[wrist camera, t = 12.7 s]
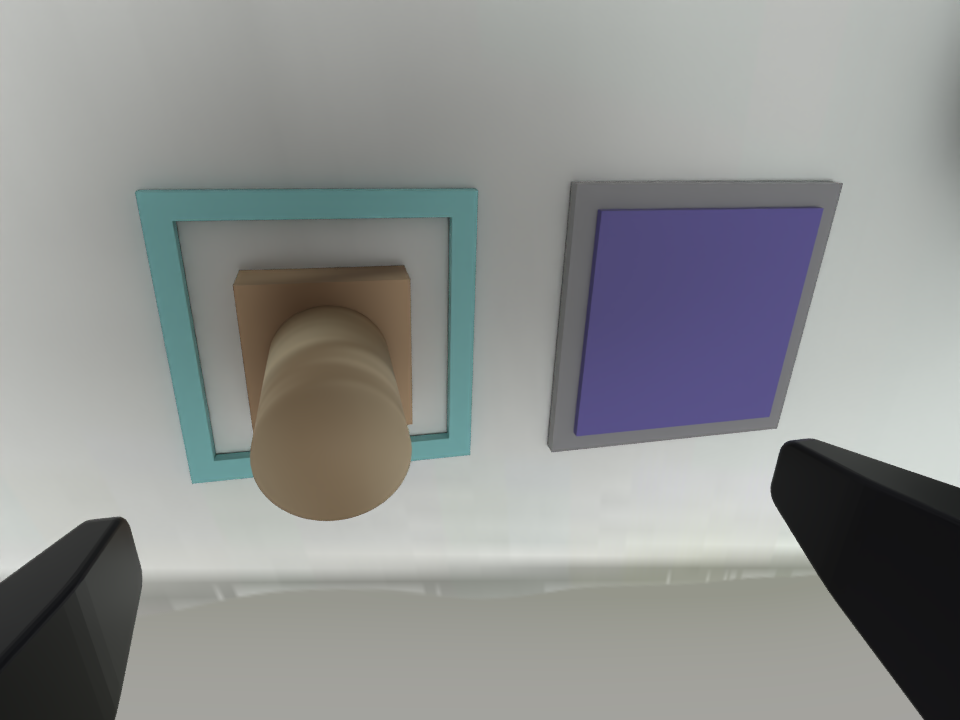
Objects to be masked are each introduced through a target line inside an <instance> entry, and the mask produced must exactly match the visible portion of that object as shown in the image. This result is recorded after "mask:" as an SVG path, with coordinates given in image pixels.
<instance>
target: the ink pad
mask: <svg viewBox="0 0 960 720" xmlns="http://www.w3.org/2000/svg"><path fill="white" fill-rule="evenodd" d="M842 185H843V183H838V182H833V181H734V182H572V183H571V194H570V205H569V216H568V227H567V238H566V249H565V260H564V271H563V282H562V293H561V304H560V315H559V326H558V337H557V348H556V359H555V370H554V381H553V392H552V403H551V414H550V425H549V435H548V447H549V448H550V450H551V452H559V451H568V450H578V449H587V448H597V447H606V446H616V445H625V444H635V443H644V442H653V441H663V440H672V439H682V438H691V437H701V436H710V435H720V434H729V433H738V432H748V431H757V430H767V429H776V428H777V426H778V423H779V419H780V415H781V412H782V408H783V404H784V400H785V397H786V393H787V389H788V386H789V382H790V378H791V374H792V371H793V367H794V363H795V360H796V356H797V352H798V348H799V345H800V341H801V337H802V334H803V330H804V326H805V322H806V319H807V315H808V311H809V307H810V304H811V300H812V296H813V293H814V289H815V285H816V281H817V278H818V274H819V270H820V267H821V263H822V259H823V255H824V252H825V248H826V244H827V241H828V237H829V233H830V229H831V226H832V222H833V218H834V215H835V211H836V207H837V203H838V200H839V196H840V192H841V189H842Z"/></svg>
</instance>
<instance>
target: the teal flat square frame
mask: <svg viewBox="0 0 960 720" xmlns="http://www.w3.org/2000/svg"><path fill="white" fill-rule="evenodd" d="M135 194H136V199H137V204H138V210H139V215H140V220H141V225H142V230H143V235H144V240H145V245H146V250H147V256H148V261H149V266H150V271H151V276H152V281H153V286H154V291H155V296H156V302H157V307H158V312H159V317H160V322H161V327H162V332H163V337H164V342H165V348H166V353H167V358H168V363H169V368H170V373H171V378H172V383H173V388H174V394H175V399H176V404H177V409H178V414H179V419H180V424H181V429H182V434H183V439H184V445H185V450H186V455H187V460H188V465H189V470H190V475H191V480H192V484H194V483H203V482H213V481H223V480H232V479H242V478H251V477H254V476H253V474H252V470H251V465H250V452H239V453H228V454H218V455H216V453H215V447H214V441H213V435H212V429H211V424H210V418H209V412H208V406H207V400H206V395H205V389H204V383H203V377H202V371H201V366H200V360H199V354H198V348H197V342H196V337H195V331H194V325H193V319H192V313H191V308H190V302H189V296H188V290H187V284H186V279H185V273H184V267H183V261H182V255H181V250H180V244H179V238H178V232H177V226H176V221H217V220H286V219H355V218H424V217H450V233H449V319H448V404H447V433H440V434H429V435H419V436H410V439H411V445H412V455H411V461H416V460H425V459H435V458H445V457H454V456H464V455H470V441H471V407H472V374H473V341H474V308H475V275H476V242H477V209H478V190H477V189H475V188H461V189H204V190H138V191H136V192H135Z"/></svg>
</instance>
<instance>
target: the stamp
mask: <svg viewBox="0 0 960 720" xmlns="http://www.w3.org/2000/svg"><path fill="white" fill-rule="evenodd" d="M233 290H234V298H235V305H236V312H237V319H238V326H239V334H240V341H241V348H242V355H243V363H244V370H245V377H246V384H247V391H248V399H249V406H250V413H251V420H252V427H253V439H252V444H251V451H250V465H251V470H252V474H253V476H254V479H255V481H256V483H257V485H258V487H259V488H260V490H261V491H262V492H263V494H264V495H265V496H266V497H267V498H268V499H269V500H270V501H271V502H272V503H273V504H275V505H276V506H278V507H279V508H281V509H282V510H284V511H286V512H288V513H290V514H293V515H295V516H298V517H302V518H306V519H311V520H318V521H334V520H342V519H348V518H352V517H355V516H359V515H361V514H364V513H366V512H368V511H370V510H372V509H374V508H376V507H377V506H379V505H380V504H382V503H383V502H385V501H386V500H387V499H388V498H389V497H390V496H391V495H392V494H393V493H394V492H395V491H396V490H397V489H398V487H399V486H400V485H401V483H402V482H403V480H404V478H405V476H406V474H407V472H408V469H409V466H410V462H411V455H412V445H411V439H410V435H409V431H408V427H407V425H409V424H412V366H411V295H410V278H409V275H408V273H407V271H406V269H405V266H404V265H401V266H368V267H335V268H303V269H270V270H239V272H238V275H237V277H236V280H235V282H234V284H233Z"/></svg>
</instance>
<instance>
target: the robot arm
mask: <svg viewBox="0 0 960 720" xmlns="http://www.w3.org/2000/svg"><path fill="white" fill-rule="evenodd" d="M771 497H772V499H773V502H774V504H775V506H776V507H777V509H778V511H779V512H780V514H781V515H782V517H783V519H784V520H785V522H786V524H787V525H788V527H789V529H790V530H791V532H792V533H793V535H794V537H795V538H796V540H797V542H798V543H799V545H800V546H801V548H802V550H803V551H804V553H805V555H806V556H807V558H808V559H809V561H810V563H811V564H812V566H813V568H814V569H815V571H816V572H817V574H818V576H819V577H820V579H821V580H822V582H823V583H824V585H825V587H826V588H827V590H828V591H829V592H830V594H831V595H832V597H833V598H834V599H835V601H836V602H837V604H838V605H839V606H840V608H841V609H842V610H843V612H844V613H845V615H846V616H847V617H848V618H849V620H850V621H851V622H852V624H853V625H854V627H855V628H856V629H857V631H858V632H859V633H860V634H861V636H862V637H863V639H864V640H865V641H866V643H867V644H868V645H869V647H870V648H871V649H872V651H873V652H874V653H875V655H876V656H877V657H878V659H879V660H880V661H881V663H882V664H883V666H884V667H885V668H886V669H887V671H888V672H889V673H890V675H891V676H892V677H893V679H894V680H895V682H896V683H897V684H898V686H899V687H900V688H901V690H902V691H903V692H904V693H905V695H906V696H907V698H908V699H909V700H910V702H911V703H912V704H913V706H914V707H915V708H916V710H917V711H918V712H919V714H920V715H921V716H922V718H923V719H924V720H960V488H959V487H956V486H953V485H950V484H947V483H944V482H941V481H938V480H935V479H932V478H929V477H926V476H923V475H920V474H917V473H914V472H911V471H908V470H905V469H902V468H899V467H896V466H893V465H890V464H887V463H885V462H882V461H879V460H876V459H873V458H870V457H867V456H864V455H861V454H858V453H855V452H852V451H849V450H846V449H843V448H840V447H837V446H834V445H831V444H828V443H825V442H822V441H819V440H816V439H809V438H808V439H800V440H791V441H788V442H786V443H784V445H783V446H782V447H781V449H780V452H779V456H778V460H777V464H776V467H775V471H774V475H773V479H772V482H771ZM141 589H142V569H141V565H140V561H139V558H138V554H137V551H136V547H135V543H134V540H133V536H132V532H131V529H130V526H129V524H128V522H127V521H126V519H124V518H122V517H110V518H101V519H92V520H87V521H85V522H83V523H82V524H80V525H79V526H77V527H76V528H75V529H73V530H72V531H70V532H69V533H68V534H66V535H65V536H64V537H62V538H61V539H59V540H58V541H57V542H55V543H54V544H53V545H51V546H50V547H48V548H47V549H46V550H44V551H43V552H42V553H40V554H39V555H38V556H36V557H35V558H33V559H32V560H31V561H29V562H28V563H27V564H25V565H24V566H22V567H21V568H20V569H18V570H17V571H16V572H14V573H13V574H11V575H10V576H9V577H7V578H6V579H5V580H3V581H2V582H1V583H0V720H115V717H116V713H117V709H118V704H119V700H120V695H121V690H122V686H123V681H124V676H125V671H126V665H127V660H128V655H129V650H130V645H131V640H132V635H133V629H134V625H135V620H136V615H137V610H138V605H139V599H140V594H141Z"/></svg>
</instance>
